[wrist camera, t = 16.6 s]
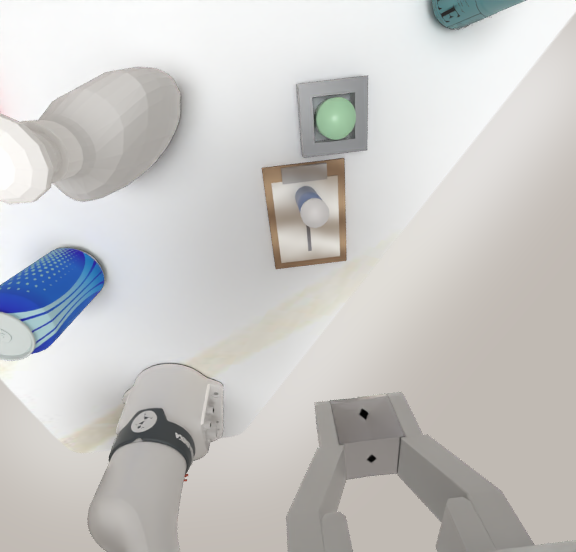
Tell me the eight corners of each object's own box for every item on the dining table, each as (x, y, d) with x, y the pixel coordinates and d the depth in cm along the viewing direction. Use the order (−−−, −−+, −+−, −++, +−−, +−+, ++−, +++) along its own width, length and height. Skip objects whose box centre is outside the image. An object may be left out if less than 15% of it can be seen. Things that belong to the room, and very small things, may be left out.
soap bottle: (146, 46, 36) (-94, -76, 12) (207, 100, 39) (110, 88, 15) (88, 151, 40) (-168, 214, 17) (146, 192, 43) (-2, 296, 19)
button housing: (361, 147, 42) (367, 150, 40) (301, 155, 42) (304, 157, 40) (362, 77, 38) (368, 75, 36) (296, 85, 38) (298, 83, 36)
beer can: (96, 241, 46) (20, 300, 32) (116, 291, 50) (56, 363, 36) (38, 247, 46) (-64, 308, 32) (62, 296, 50) (-19, 370, 36)
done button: (349, 135, 41) (356, 137, 38) (315, 139, 41) (319, 141, 38) (348, 95, 39) (355, 94, 36) (312, 100, 39) (316, 99, 36)
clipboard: (345, 258, 50) (347, 262, 48) (275, 267, 50) (275, 271, 48) (343, 158, 43) (345, 159, 41) (261, 167, 43) (261, 169, 41)
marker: (317, 206, 44) (330, 226, 35) (295, 209, 44) (302, 229, 35) (316, 184, 43) (328, 198, 34) (293, 187, 43) (299, 201, 34)
